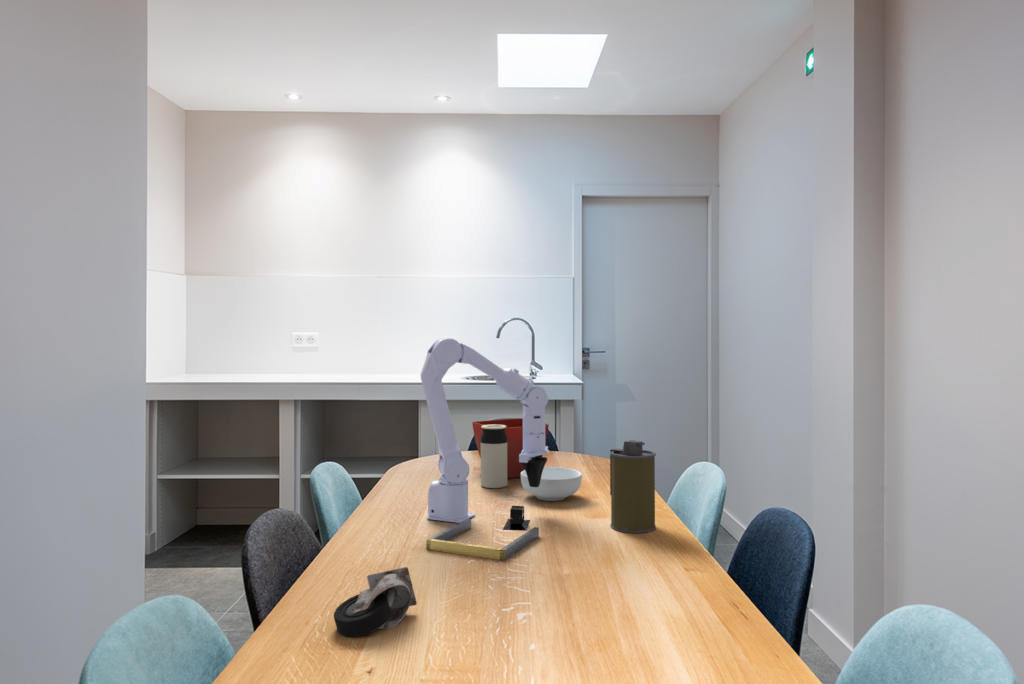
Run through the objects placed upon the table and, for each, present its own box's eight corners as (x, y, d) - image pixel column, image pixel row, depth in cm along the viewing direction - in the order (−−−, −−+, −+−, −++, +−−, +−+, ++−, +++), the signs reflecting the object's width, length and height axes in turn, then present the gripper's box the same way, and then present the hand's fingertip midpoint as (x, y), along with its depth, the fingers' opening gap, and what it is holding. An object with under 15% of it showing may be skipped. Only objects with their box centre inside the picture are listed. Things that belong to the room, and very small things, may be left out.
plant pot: (496, 482, 208) (496, 427, 208) (471, 472, 225) (471, 421, 225) (550, 476, 216) (550, 424, 216) (521, 466, 233) (521, 418, 233)
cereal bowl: (511, 501, 183) (511, 475, 183) (532, 489, 199) (532, 465, 199) (571, 507, 177) (571, 480, 177) (588, 493, 192) (588, 469, 192)
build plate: (529, 535, 154) (529, 515, 154) (497, 534, 155) (497, 513, 155) (534, 520, 166) (534, 501, 166) (505, 519, 167) (505, 500, 167)
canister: (664, 526, 158) (664, 441, 158) (640, 536, 150) (639, 446, 150) (625, 518, 166) (624, 436, 165) (600, 527, 158) (599, 441, 158)
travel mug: (512, 485, 204) (512, 425, 204) (497, 490, 197) (497, 428, 197) (490, 482, 208) (490, 423, 208) (475, 486, 202) (475, 426, 202)
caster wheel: (335, 655, 100) (349, 617, 109) (410, 638, 100) (417, 602, 109) (323, 614, 99) (339, 579, 108) (399, 597, 99) (407, 564, 108)
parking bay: (426, 549, 142) (426, 539, 142) (467, 527, 158) (467, 518, 158) (504, 560, 134) (504, 550, 134) (538, 536, 150) (538, 527, 150)
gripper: (537, 437, 163) (538, 493, 163) (558, 430, 176) (559, 482, 176) (511, 436, 166) (511, 491, 166) (533, 428, 179) (534, 480, 179)
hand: (534, 486), depth 172 cm, fingers closed
